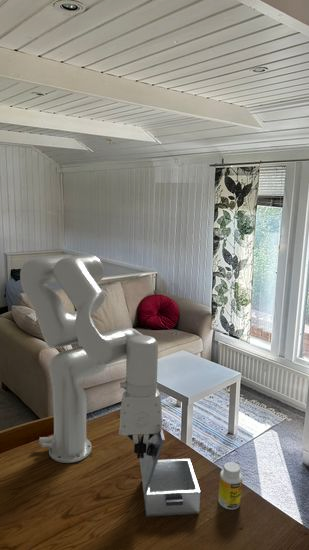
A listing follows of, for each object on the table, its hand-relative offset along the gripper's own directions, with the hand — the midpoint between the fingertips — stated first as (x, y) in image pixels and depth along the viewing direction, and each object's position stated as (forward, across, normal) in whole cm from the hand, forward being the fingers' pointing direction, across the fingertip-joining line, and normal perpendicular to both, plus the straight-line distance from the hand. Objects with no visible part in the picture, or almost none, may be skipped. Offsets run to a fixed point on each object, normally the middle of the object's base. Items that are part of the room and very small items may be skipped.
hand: (140, 454), depth 103 cm
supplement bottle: (+13, +23, -3) cm, 26 cm away
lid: (-1, +3, 0) cm, 3 cm away
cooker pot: (+12, +8, 0) cm, 15 cm away
